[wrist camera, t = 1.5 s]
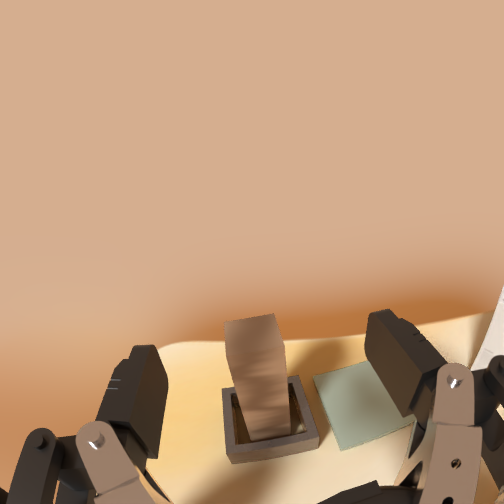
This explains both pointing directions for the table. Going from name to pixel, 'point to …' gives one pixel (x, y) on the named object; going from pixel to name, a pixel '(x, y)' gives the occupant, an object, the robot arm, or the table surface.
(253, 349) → the walnut post
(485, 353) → the small box
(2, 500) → the beverage bottle
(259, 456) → the holder
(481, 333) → the table surface
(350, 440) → the mat
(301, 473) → the table surface
